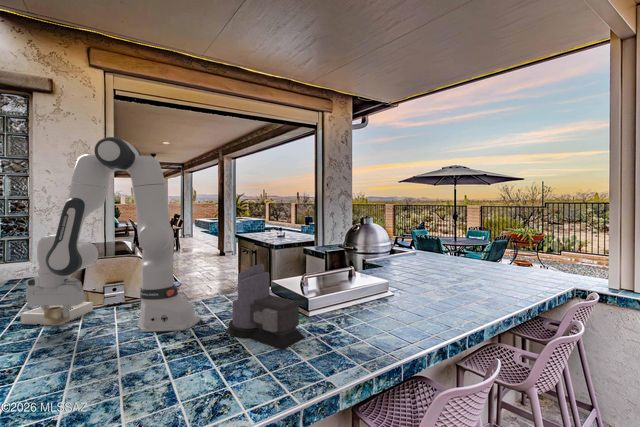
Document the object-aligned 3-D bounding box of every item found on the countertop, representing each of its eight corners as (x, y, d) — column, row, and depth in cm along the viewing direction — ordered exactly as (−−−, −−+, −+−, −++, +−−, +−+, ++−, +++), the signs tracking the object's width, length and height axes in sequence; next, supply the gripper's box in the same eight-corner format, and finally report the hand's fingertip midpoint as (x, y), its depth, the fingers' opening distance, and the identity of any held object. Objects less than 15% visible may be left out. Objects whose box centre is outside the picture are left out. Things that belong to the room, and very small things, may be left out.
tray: (92, 311, 138) (92, 302, 138) (59, 325, 122) (58, 314, 122) (58, 310, 139) (58, 301, 139) (20, 323, 124) (20, 313, 123)
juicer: (217, 330, 117) (216, 263, 116) (250, 318, 129) (250, 257, 129) (277, 353, 99) (277, 273, 98) (309, 336, 112) (309, 265, 111)
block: (69, 318, 119) (68, 305, 119) (57, 323, 114) (56, 309, 114) (57, 318, 120) (56, 305, 120) (44, 323, 115) (43, 309, 115)
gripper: (88, 276, 119) (90, 314, 119) (38, 277, 121) (40, 313, 121) (73, 281, 112) (75, 320, 113) (21, 281, 115) (23, 319, 115)
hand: (57, 316), depth 117 cm, fingers closed on block, 5 cm apart
